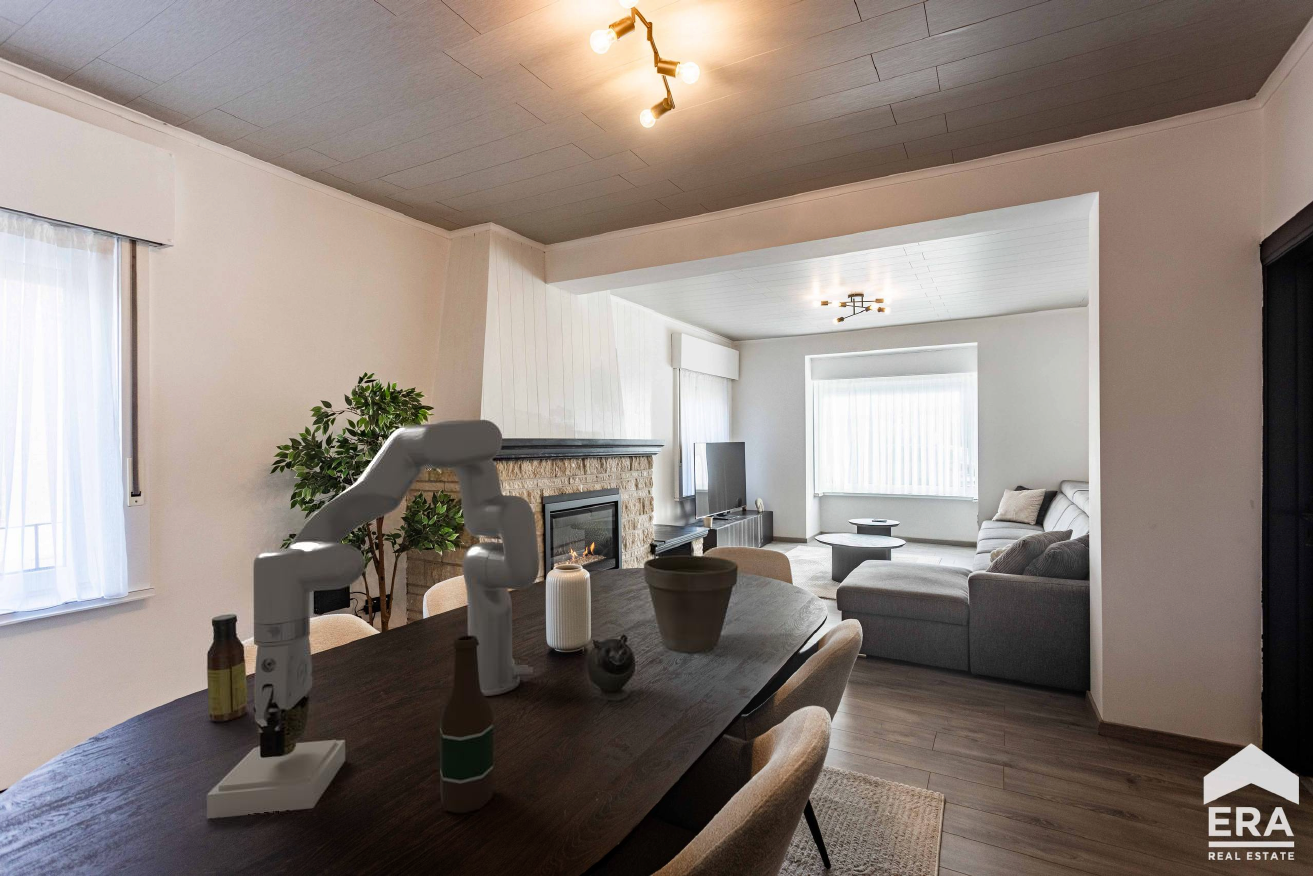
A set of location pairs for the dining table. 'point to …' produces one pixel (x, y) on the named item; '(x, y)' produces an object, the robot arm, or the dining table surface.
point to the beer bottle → (466, 736)
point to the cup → (292, 723)
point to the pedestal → (277, 780)
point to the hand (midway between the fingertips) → (283, 743)
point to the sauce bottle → (226, 671)
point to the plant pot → (690, 599)
